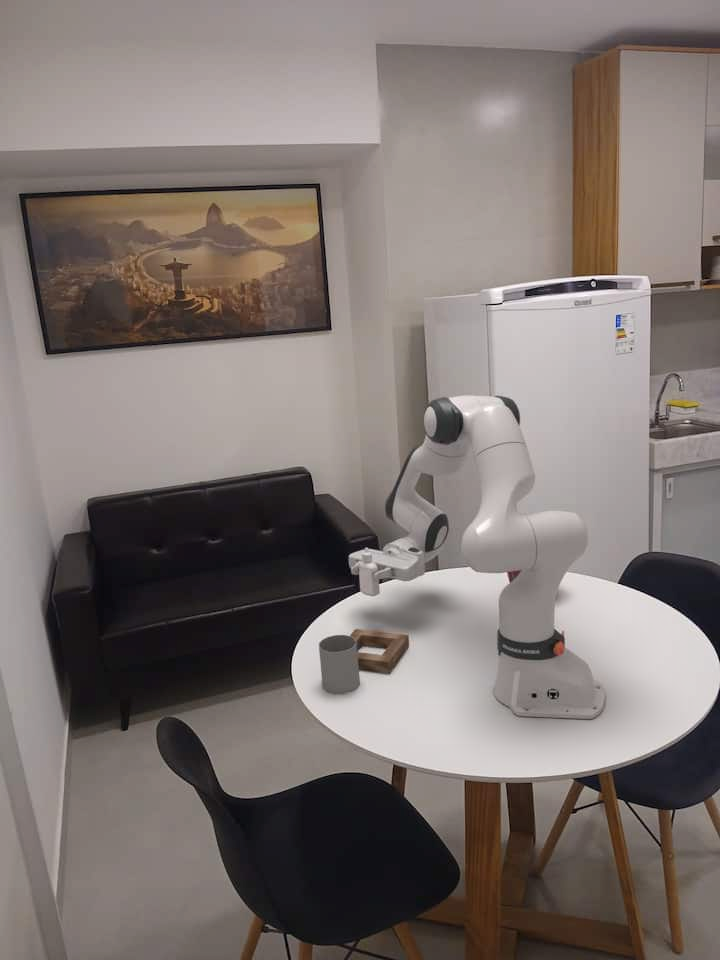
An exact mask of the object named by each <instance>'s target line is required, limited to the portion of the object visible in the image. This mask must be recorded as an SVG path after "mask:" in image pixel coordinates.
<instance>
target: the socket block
mask: <svg viewBox="0 0 720 960" xmlns="http://www.w3.org/2000/svg"><path fill="white" fill-rule="evenodd" d="M349 636H351V637H353V638H354V639H356V643H357V654H358V666H359V671H364V672H371V673H380V674H386V675H390V674H391V673H392V672H393V670H394V669H395V667H396V666H397V664H398V663H399V662H400V660H401V658H402V657H403V656H404V654H405V653H406V652H407V650H408V649H409V647H410V639H409V638H410V637H409V634H404V633H396V632H395V633H394V632H385V631H378V630H368V629H367V630H366V629H359V628H358V629H357V628H355V629H354V630H353V631H352V632H351V633H350V634H349ZM366 646H369V647H368V648H374V647H375V648H376V649H382V648H384V651H383V653H382V654H377V653H376V654H375V653H371V652H370V653H368V652H361V651H360V650H361V649H362V648H363V647H366ZM375 648H374V649H375ZM359 649H360V650H359ZM358 650H359V651H360V652H359V651H358ZM405 651H406V652H405Z"/></svg>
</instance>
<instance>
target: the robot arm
mask: <svg viewBox="0 0 720 960" xmlns="http://www.w3.org/2000/svg"><path fill="white" fill-rule="evenodd" d="M520 424H521V413H520V409H519V407H518V405H517V403H516V402H515V401H514V400H513V399H511V398H509V397H507V396H503V395H495V396H490V395H472V394H471V395H465V394H464V395H458V396H451V397H447V396H444V397H443V396H442V397H439V398H435V399H433V400H431V401H430V402H429V403H428V404H427V406H426V407H425V409H424V414H423V427H424V433H425V437H424V441H423V443H422V444H421V443H420V444H417V445H416V446H414V447H413V448H412V449H411V451H409V454H408V455H407V457H406V458H405V461H404V463H403V465H402V467H401V470H400V473H399V475H398V477H397V479H396V482H395V484H394V487H393V488H392V490H391V492H389V495H388V497H386V500H385V502H384V503H385V504H384V511H385V516H386V518H387V519H388V520H390V521H392V522H393V523H395V524H396V525H398V526H400V527H401V528H402V529H404V530H405V531H407V532H408V534H407V535H406V536H405V537H401V538H398V539H396V540H394V541H392V542H389V543H387V544H386V545H384V547H383V548H382V550H378V549H374V548H373V549H372V548H368V550H369V552H371V553H372V561H373V562H374V563H375V564H376V565H377V567H378V571H375V572H373V573H372V579H374V580H381V579H389V578H390V579H394V580H397V581H402V582H410V581H414V580H416V579H417V578H419V577H422V576H424V575H425V572H426V571H425V569H426V568H425V567H426V566H425V565H426V563H427V562H430V561H431V560H433V559H434V558H435V557H436V556H438V555H439V554H441V552H442V550H443V549H444V547H445V540H446V539H447V537H448V533H449V531H450V529H449V528H450V527H449V524H450V523H449V519H448V516H447V514H446V513H445V512H443V511H442V510H440V509H439V508H438V507H437V506H435V505H434V504H432V503H431V502H429V501H428V500H426V499H424V497H422V496H421V495H419V493H417V491H416V489H415V487H416V486H417V483H418V481H419V479H420V477H421V475H422V474H427V475H430V476H434V477H446V476H451V475H453V474H456V473H457V472H459V471H460V470H461V469H462V468H463V466H464V465H465V464H466V461H467V458H468V455H469V452H470V448H472V454H473V457H474V463H475V465H476V467H475V468H476V471H477V475H478V479H479V486H480V493H481V494H480V495H481V496H480V497H481V498H480V499H481V501H480V507H479V509H478V511H477V514H476V517H475V518H474V519H473V520H472V522H471V523H470V524H468V526H467V528H466V529H465V530H464V532H463V535H462V538H461V542H460V543H461V545H460V549H461V553H462V558H463V559H464V561H465V563H466V564H467V566H468V567H469V568H470V569H471V570H473V571H474V572H476V573H483V574H504V573H507V572H512V571H518V570H521V572H520V573H519V575H518V576H517V577H516V578H515V579H514V580H513V581H512V582H511V583H510V582H509V583H508V584H506V585H505V586H504V587H503V589H502V590H501V592H500V594H499V596H498V622H499V623H498V625H499V627H498V630H497V633H496V647H497V648H496V649H497V655H498V656H499V657H498V665H497V667H498V668H497V675H496V678H495V682H494V686H493V695H494V697H495V698H496V699H497V700H498V701H499V703H502V705H505V706H507V707H508V708H510V710H511V711H512V712H513V713H514V714H515V715H516V716H518V717H528V718H529V717H534V718H556V719H561V718H562V719H582V720H585V719H586V720H590V719H591V720H593V719H594V718H596V717H598V716H599V715H600V714H601V713H602V711H603V710H604V708H605V704H606V691H605V688H604V686H603V685H602V683H600V682H599V681H598V680H595V679H594V677H593V674H592V670H591V667H590V666H589V664H588V663H587V662H586V660H584V659H582V658H581V657H579V656H578V655H576V654H575V653H574V652H572V651H570V650H569V649H568V648H566V639H565V638H566V637H565V631H564V630H562V631H561V633H560V632H559V631H558V630H557V629H555V614H556V613H555V609H556V598H557V594H558V590H559V588H560V585H561V582H562V580H563V579H564V578H565V577H564V576H565V575H566V574H567V572H568V571H569V570H570V568H571V567H572V566H573V564H574V563H575V562H576V561H578V560H579V559H580V558H581V557H582V556H583V555H584V554H585V552H586V550H587V548H588V544H589V532H588V529H587V526H586V524H585V522H584V521H583V519H582V518H581V516H579V515H578V514H577V513H575V512H573V511H568V510H567V511H566V510H551V509H550V510H545V511H543V510H542V511H535V512H529V513H519V511H518V508H517V504H518V502H519V501H521V500H522V499H524V498H525V497H526V496H527V495H528V494H529V493H530V492H531V491H532V490H533V488H534V487H535V486H534V485H535V483H536V474H535V471H534V467H533V463H532V460H531V457H530V454H529V451H528V447H527V443H526V441H525V437H524V435H523V432H522V430H521V427H520ZM364 552H365V548H364V549H361V550H358V551H354V552H352V553H350V554H349V555H348V565H349V568H350V572H351V574H352V575H355V576H357V575H359V563H360V562H362V561H363V558H362V553H364Z"/></svg>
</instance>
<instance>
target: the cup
mask: <svg viewBox="0 0 720 960" xmlns="http://www.w3.org/2000/svg"><path fill="white" fill-rule="evenodd" d="M318 651H319V653H318V654H319V661H320V672H321V683H322V690H324V691H325V692H326V693H328V694H333V695H345V694H349V692H350V693H352V692H354V691H355V690H357V689H359V687H360V685H361V681H360V670H359V666H358V654H357V643H356V639H354V638H353V637H351V636H350V635H346V634H334V635H330V636H327V637H325V638H322V639H321V640H320V641H319V642H318Z"/></svg>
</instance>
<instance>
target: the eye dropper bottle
mask: <svg viewBox="0 0 720 960" xmlns="http://www.w3.org/2000/svg"><path fill="white" fill-rule="evenodd" d="M364 549H365V552H364V553H362V558H363V561H362V562H360V563H359V574H358V577H359V589H360V593H362V594H363V595H366V596H369V597H375V596H378V595H380V591H381V590H380V581H379V580H380V579H379V580H374V579H372V573H373V572H375V571H378V567H377V565H376V564H375V563H374V562H373V561H372V553H371V552H369V550H368V549H369V548H368V547H365V548H364Z"/></svg>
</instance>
